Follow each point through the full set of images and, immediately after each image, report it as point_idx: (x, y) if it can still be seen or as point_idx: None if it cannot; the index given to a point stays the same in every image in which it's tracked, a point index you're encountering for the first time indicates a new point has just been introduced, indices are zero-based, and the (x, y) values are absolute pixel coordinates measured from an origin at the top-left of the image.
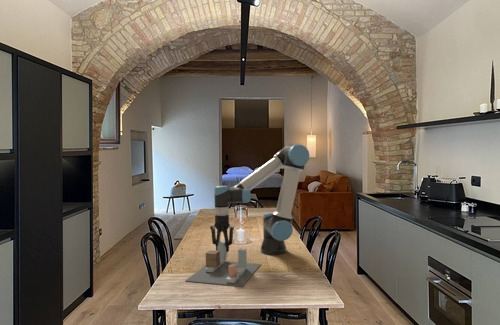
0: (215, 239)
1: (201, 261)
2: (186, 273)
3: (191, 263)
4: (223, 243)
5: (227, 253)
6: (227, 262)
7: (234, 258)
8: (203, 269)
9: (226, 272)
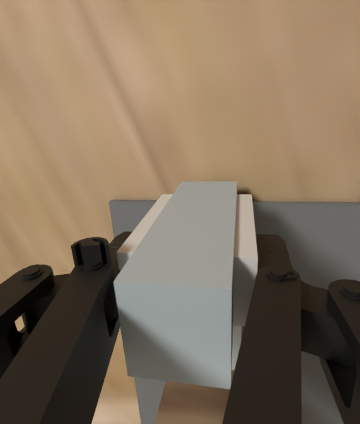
0: (13, 320)
1: (44, 218)
2: (95, 411)
3: (13, 269)
4: (223, 379)
5: (252, 208)
6: (265, 231)
7: (287, 50)
8: (156, 381)
9: (325, 417)
